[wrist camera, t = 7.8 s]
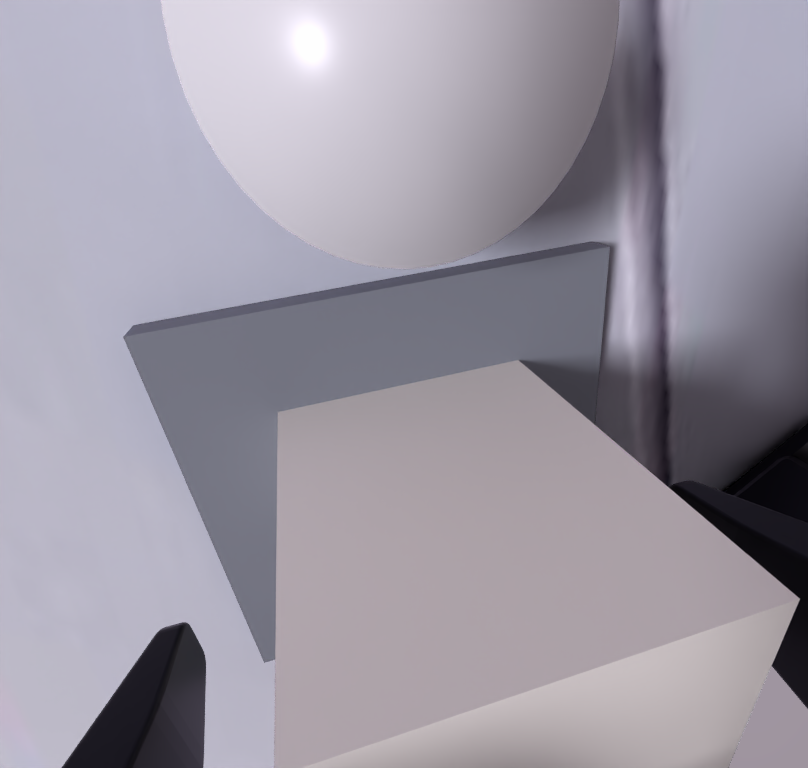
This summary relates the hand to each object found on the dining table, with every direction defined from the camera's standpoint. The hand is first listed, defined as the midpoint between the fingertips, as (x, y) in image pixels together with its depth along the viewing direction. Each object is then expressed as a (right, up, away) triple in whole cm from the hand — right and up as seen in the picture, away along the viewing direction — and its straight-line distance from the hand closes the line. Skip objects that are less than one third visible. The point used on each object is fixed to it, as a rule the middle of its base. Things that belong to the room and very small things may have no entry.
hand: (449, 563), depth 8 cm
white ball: (-2, +8, -1) cm, 8 cm away
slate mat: (-1, +1, +3) cm, 3 cm away
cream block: (-1, +1, +2) cm, 2 cm away
